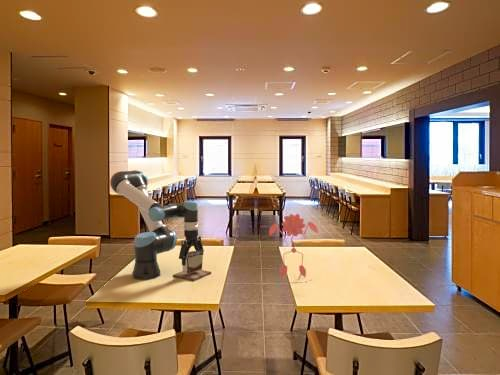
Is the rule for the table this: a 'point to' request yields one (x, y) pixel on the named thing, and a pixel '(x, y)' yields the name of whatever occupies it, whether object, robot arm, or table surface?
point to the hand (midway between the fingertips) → (192, 268)
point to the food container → (194, 261)
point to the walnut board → (192, 275)
